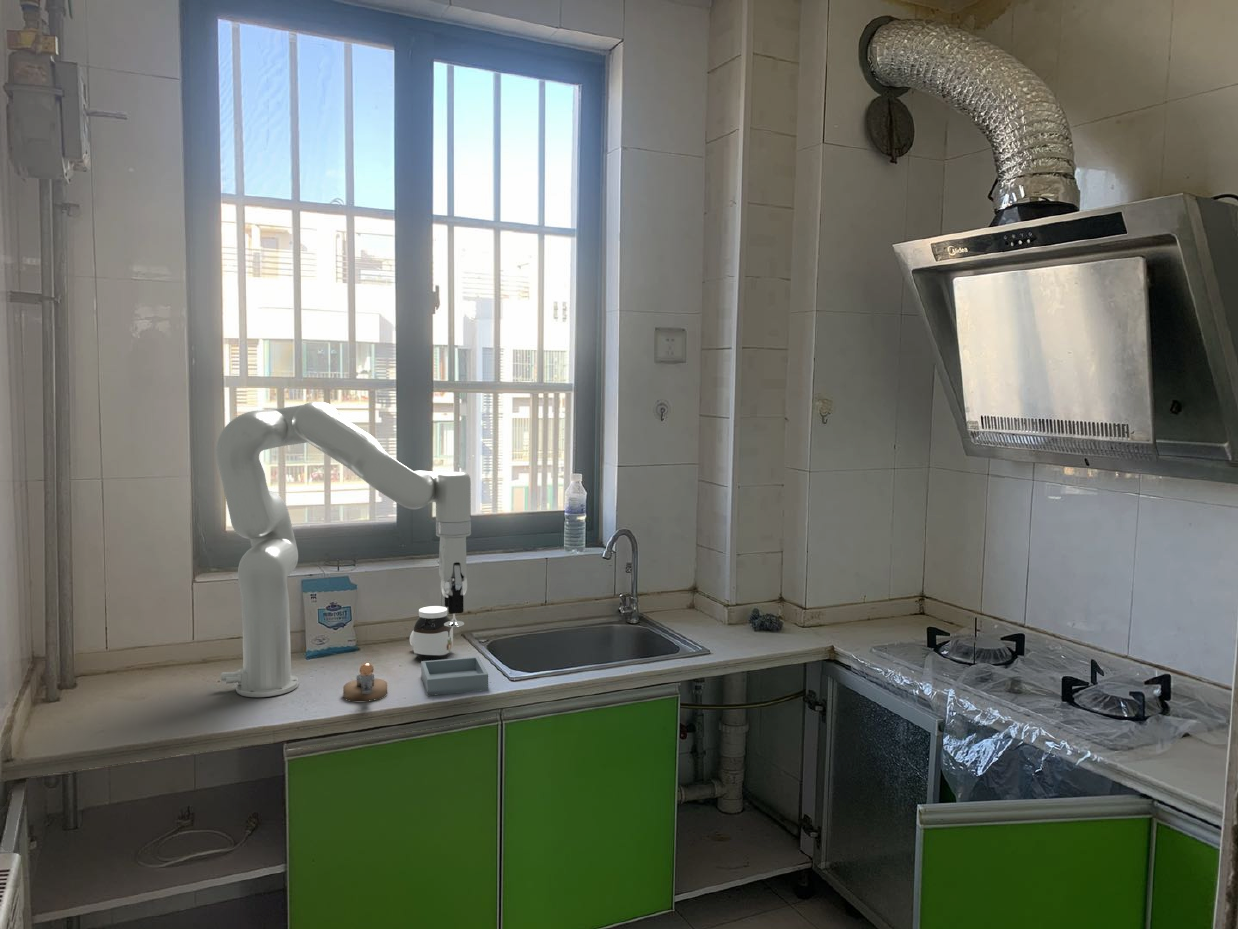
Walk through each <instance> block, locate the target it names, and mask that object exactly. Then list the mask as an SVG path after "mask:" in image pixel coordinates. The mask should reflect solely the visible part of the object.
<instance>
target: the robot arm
mask: <svg viewBox="0 0 1238 929" xmlns="http://www.w3.org/2000/svg"><path fill="white" fill-rule="evenodd" d="M306 443H307V444H310V445H311V446H313V447H314V448H316V449H318V451H320V452H323V454H325V455H327V456H329V457H330V458H332V459H334V460H335V461H336V462H338V463H339V464H341V465H342V466H344V467H346V468H347V469H349V470H350V471H352V473H354V474H355V475H356V476H357V477H359V478H360V479H361V480H363V481H364V482H366V483H367V484H368V485H369V486H371V487H372V488H373V489H375V490H376V491H378V492H379V493H381V494H382V495H383V496H386V497H387V498H388V499H391V500H392V501H394V502H395V503H397V504H399V505H400V506H402V507H403V508H406V509H409V510H419V509H422V508H425V507H426V506H427V505H428V504H430V503H435V536H437V537H438V538H439V549H438V552H439V555H438V556H439V558H438V575H439V577H440V580H441V579H442V581H443V582H445V583H446V582H447V581H449V591H450V595H448V598H446V597H445V596H444V607H445V608H447V613H448V614H450V615H453V614H455V615H456V614H463V613H464V610H465V609H464V596H463V584H462V581H465V580H466V578H467V537H470V536H471V535H472V523H471V522H472V521H471V520H472V508H471V505H472V503H471V502H472V498H471V496H472V495H471V494H472V493H471V492H472V491H471V490H472V488H471V485H472V484H471V476H470V475H469V474H468V473H467V472H463V471H443V472H435V471H428V470H412V469H411V468H409V467H407V466H406V465H404V464H403V463H401V462H399V461H398V460H397V459H396V458H394V457H392V456H391V455H390V454H389V453H388V452H387V451H385V449H384V448H383V447H382V446H381V444H380V443H379V441H378V440H377V438H375V437H374V436H373V435H371V434H370V433H368V431H367V432H366V431H365V430H363V429H362V428H360V427H359V426H357V425H356V424H354V423H352V422H351V421H349V420H348V419H346V418H345V417H343V416H341V414H340V412H339V411H338V409H336V407H334V405H332V404H330V403H328V402H325V401H311V402H306V403H304V404H302V405H301V404H300V405H294V406H289V407H288V406H287V407H280V408H273V409H264V410H263V409H262V410H251V411H247V412H244V413H241V414H240V415H238V416H236V417H235V418H233V419H232V420H230V422H228V423H227V424H226V426H225V427H224V428H223V429H222V430H221V432H220V433H219V437H218V438H217V441H216V446H215V447H216V448H215V457H216V462H217V467H218V471H219V475H220V479H221V483H222V487H223V493H224V497H225V501H226V505H227V509H228V514H229V519H230V523H231V527H232V528H233V530H234V531H235V533H236V534H237V535H238V536H240V537H241V538H244V539H247V540H249V541H250V546H251V547H250V548H249V549H248V550H247V551H246V552H245V553H244V554H243V555H242V556H241V558H240V560H239V564H238V568H237V579H238V586H239V590H240V602H241V621H242V626H241V627H242V659H243V661H242V668H241V669H237V670H236V671H227V672H226V671H225V672H223V671H222V672H221V673H220V674H221V675H220V681H221V682H222V683H223V682H225V684H235V683H236V686H235V691H236V693H237V694H238V695H240V696H242V697H247V698H266V697H267V698H268V697H269V698H270V697H275V696H280V695H284V694H287V693H289V692H291V691H293V690H295V689H297V688H298V687H299V683H300V682H299V678H298V677H297V676H296V675H293V674H292V668H291V667H292V663H291V662H292V660H291V619H290V618H291V616H290V613H291V612H290V596H289V590H288V580H287V578H288V577H289V576H290V575H291V574H292V573H293V571H294V570H295V569H296V567H297V565H298V561H299V550H298V546H297V541H296V537H295V532H294V530H293V525H292V524H293V523H292V521H291V517H290V512H289V509H288V506H287V504H286V503H285V501H284V499H283V498H282V497H281V496H280V495H279V494H277V493H276V492H274V491H271V490H269V488H268V484H267V480H266V473H265V470H264V468H263V464H261V463H262V462H261V460H260V454H261V452H263V451H265V450H270V449H275V448H280V447H286V446H292V445H293V446H294V445H298V444H300V445H301V444H306ZM453 569H454V571H453ZM462 576H464V577H462ZM453 578H454V579H455V581H451V579H453ZM452 584H455V585H453V587H452Z"/></svg>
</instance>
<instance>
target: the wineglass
mask: <svg viewBox="0 0 1238 929" xmlns="http://www.w3.org/2000/svg"><path fill="white" fill-rule="evenodd" d="M453 571H454V569H453ZM462 577H464V576H462ZM451 581H455V579H454V578H453V579H451ZM462 584H463V597H464V596H465V595H466V594H467V591H468V578H467V577H466V580H465V581H462ZM453 585H455V584H452V587H453ZM440 591H441V594H442V595H443V597H444V598H445V597H446V598H448V595H450V591H449V581H447V582H446V583H445V582H443V581H442V579H441V578H440ZM444 625H445V626H448V627H453V628H455V627H456V628H458V627H462V626H464V625H465V622H464V621H462V620H457V618H456V613H455V614H452V618H451V621H449V622H446V623H444Z"/></svg>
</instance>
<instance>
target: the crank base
mask: <svg viewBox="0 0 1238 929" xmlns="http://www.w3.org/2000/svg"><path fill="white" fill-rule="evenodd" d="M342 688H343V693H342V694H343V699H344V700H346V699H347V700H346V701H348V700H350V701H349V702H352V701H369V700H374V699H378V700H381V699H383V698H385V697H386V696H387V695H388V682H387V681H386V680H384V679H380V678H374V685H373V686H372V689H371V693H368V694H362V690H361V687H358V686H357V679H355V680H352V681H348V682H347V683H345V684H344V685H343V687H342ZM386 694H387V695H386ZM385 695H386V696H385ZM384 696H385V697H384ZM382 697H383V698H382ZM380 698H381V699H380ZM374 701H375V700H374ZM369 702H370V701H369Z"/></svg>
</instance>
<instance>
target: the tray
mask: <svg viewBox="0 0 1238 929" xmlns="http://www.w3.org/2000/svg"><path fill="white" fill-rule="evenodd" d="M420 665H421V666H420V668H421V669H420V672H421V675H420V676H421V680H422V683H423V687H424V689H425V692H426V695H431V696H436V695H435V694H441V695H446V694H445V693H451V694H461V693H468V692H469V693H470V692H481V691H480V690H482V691H488V690H489V673H488V671H487V669H486V668H485V665H484V664H483V662H482V660H481V659H480V656H469V657H458V658H447V659H446V658H444V659H440V660H423V661H422V660H421V661H420Z"/></svg>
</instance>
